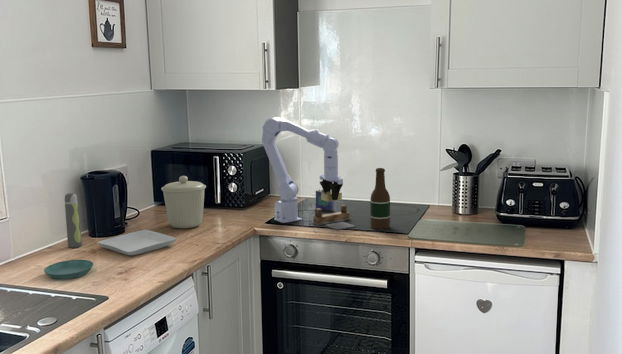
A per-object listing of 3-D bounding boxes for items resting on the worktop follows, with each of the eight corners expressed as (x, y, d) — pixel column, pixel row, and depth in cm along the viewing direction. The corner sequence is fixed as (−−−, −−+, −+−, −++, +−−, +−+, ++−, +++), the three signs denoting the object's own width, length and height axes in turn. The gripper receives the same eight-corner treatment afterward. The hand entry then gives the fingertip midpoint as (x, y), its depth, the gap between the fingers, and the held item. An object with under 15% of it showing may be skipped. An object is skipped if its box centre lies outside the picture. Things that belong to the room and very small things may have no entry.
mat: (337, 230, 241) (337, 229, 241) (324, 225, 248) (324, 224, 248) (355, 226, 246) (355, 225, 245) (342, 222, 253) (342, 221, 253)
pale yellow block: (327, 201, 250) (327, 193, 250) (321, 199, 254) (321, 191, 254) (341, 199, 254) (341, 191, 253) (335, 197, 258) (335, 189, 257)
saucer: (49, 269, 200) (48, 261, 199) (96, 265, 203) (95, 257, 203) (40, 284, 186) (39, 276, 185) (91, 279, 189) (90, 271, 189)
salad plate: (129, 260, 208) (128, 251, 207) (96, 249, 222) (95, 240, 221) (179, 246, 224) (178, 237, 223) (145, 237, 238) (145, 228, 237)
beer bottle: (389, 225, 247) (389, 166, 243) (390, 229, 240) (390, 170, 236) (370, 224, 248) (370, 166, 244) (370, 229, 241) (370, 170, 237)
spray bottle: (85, 245, 226) (80, 192, 223) (74, 248, 222) (70, 195, 219) (75, 244, 229) (70, 192, 225) (65, 247, 224) (60, 194, 221)
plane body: (317, 225, 250) (317, 210, 249) (312, 223, 253) (312, 208, 252) (350, 219, 258) (350, 205, 257) (345, 217, 261) (344, 203, 260)
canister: (212, 228, 248) (209, 177, 244) (167, 233, 241) (164, 181, 238) (203, 218, 265) (200, 171, 261) (160, 223, 258) (157, 174, 254)
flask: (335, 210, 275) (334, 187, 273) (332, 212, 273) (331, 188, 271) (317, 208, 280) (316, 186, 278) (314, 210, 277) (313, 187, 275)
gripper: (349, 167, 248) (349, 200, 250) (329, 163, 260) (329, 194, 262) (334, 169, 244) (335, 202, 246) (315, 165, 256) (315, 196, 258)
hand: (331, 198), depth 254 cm, fingers closed on pale yellow block, 5 cm apart
